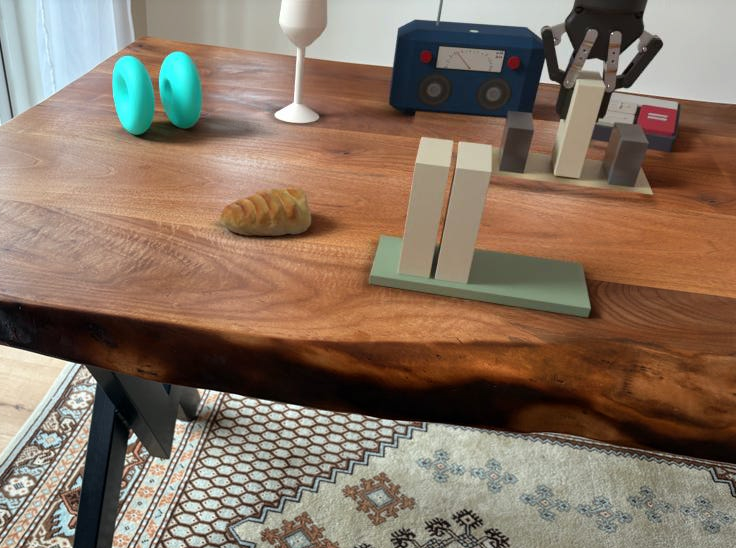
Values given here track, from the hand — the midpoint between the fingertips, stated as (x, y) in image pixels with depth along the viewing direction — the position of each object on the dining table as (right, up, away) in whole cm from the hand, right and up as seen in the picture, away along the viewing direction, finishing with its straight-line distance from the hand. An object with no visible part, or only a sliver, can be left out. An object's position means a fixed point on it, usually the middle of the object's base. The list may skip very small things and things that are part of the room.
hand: (578, 118), depth 94 cm
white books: (-18, -21, -19) cm, 33 cm away
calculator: (+15, +3, +18) cm, 24 cm away
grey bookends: (0, -6, +4) cm, 7 cm away
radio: (-9, +8, +24) cm, 27 cm away
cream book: (0, -5, +4) cm, 6 cm away
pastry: (-38, -15, -10) cm, 42 cm away
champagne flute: (-33, +7, +21) cm, 40 cm away
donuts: (-53, +3, +13) cm, 55 cm away
